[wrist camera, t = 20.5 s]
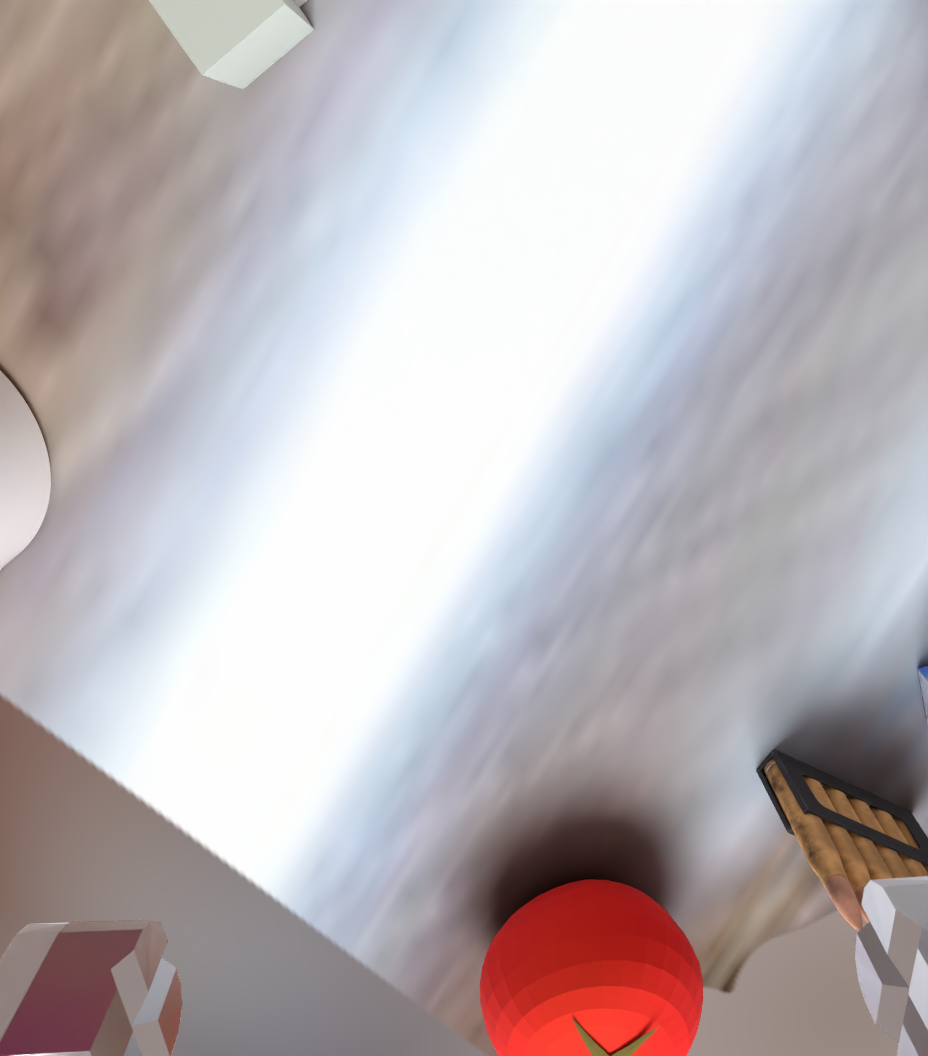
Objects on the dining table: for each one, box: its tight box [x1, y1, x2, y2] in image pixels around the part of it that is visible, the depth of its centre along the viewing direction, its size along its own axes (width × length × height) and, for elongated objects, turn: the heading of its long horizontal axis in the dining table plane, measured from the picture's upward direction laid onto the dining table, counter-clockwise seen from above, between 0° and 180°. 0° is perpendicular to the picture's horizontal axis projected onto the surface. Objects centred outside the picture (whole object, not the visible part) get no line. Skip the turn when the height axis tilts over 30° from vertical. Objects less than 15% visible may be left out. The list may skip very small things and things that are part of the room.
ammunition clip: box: [757, 750, 928, 931], centre depth 46 cm, size 11×2×12 cm, turn 63°
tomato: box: [480, 879, 703, 1056], centre depth 51 cm, size 14×13×10 cm
